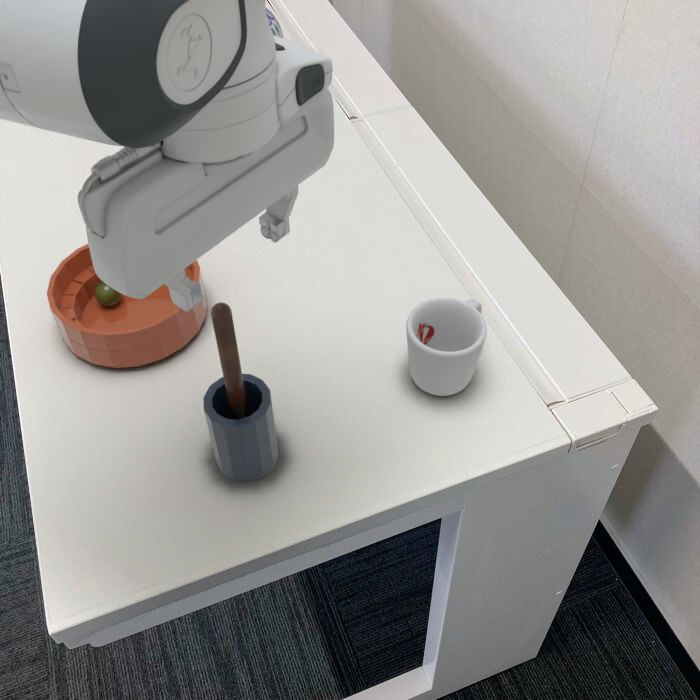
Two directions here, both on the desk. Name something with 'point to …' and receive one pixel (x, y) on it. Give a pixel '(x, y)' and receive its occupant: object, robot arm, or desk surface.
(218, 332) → the stick
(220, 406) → the crock
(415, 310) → the cup
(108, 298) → the bead
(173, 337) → the bowl
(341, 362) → the desk surface
